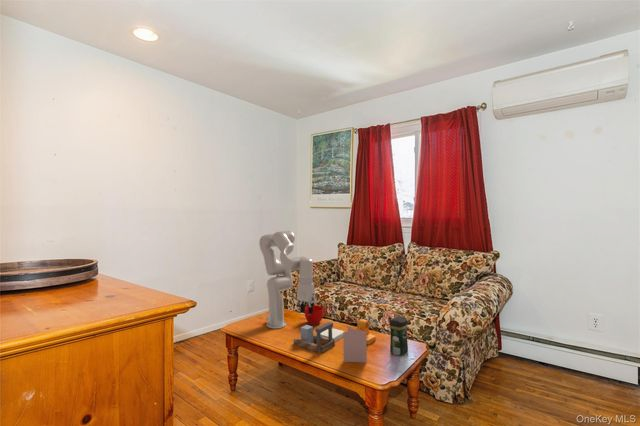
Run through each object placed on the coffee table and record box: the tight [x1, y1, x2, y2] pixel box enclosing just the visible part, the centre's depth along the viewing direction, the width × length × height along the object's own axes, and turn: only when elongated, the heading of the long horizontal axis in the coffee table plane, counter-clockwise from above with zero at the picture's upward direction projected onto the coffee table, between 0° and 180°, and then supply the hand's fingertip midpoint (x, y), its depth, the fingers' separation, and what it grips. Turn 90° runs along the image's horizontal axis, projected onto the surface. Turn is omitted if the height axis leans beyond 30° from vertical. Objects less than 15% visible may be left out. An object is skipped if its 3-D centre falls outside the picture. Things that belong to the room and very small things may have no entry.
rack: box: [292, 333, 336, 355], centre depth 179 cm, size 20×12×3 cm, turn 52°
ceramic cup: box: [304, 304, 325, 326], centre depth 211 cm, size 13×17×10 cm
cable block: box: [300, 324, 314, 344], centre depth 182 cm, size 5×5×9 cm
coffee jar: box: [389, 315, 409, 357], centre depth 168 cm, size 10×8×19 cm
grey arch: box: [314, 321, 334, 346], centre depth 174 cm, size 3×12×9 cm, turn 142°
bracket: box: [356, 318, 377, 346], centre depth 182 cm, size 11×7×12 cm, turn 134°
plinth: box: [321, 327, 346, 342], centre depth 190 cm, size 12×12×2 cm
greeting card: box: [342, 326, 368, 363], centre depth 159 cm, size 11×7×15 cm, turn 48°
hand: (306, 312), depth 182 cm, fingers open, 5 cm apart
